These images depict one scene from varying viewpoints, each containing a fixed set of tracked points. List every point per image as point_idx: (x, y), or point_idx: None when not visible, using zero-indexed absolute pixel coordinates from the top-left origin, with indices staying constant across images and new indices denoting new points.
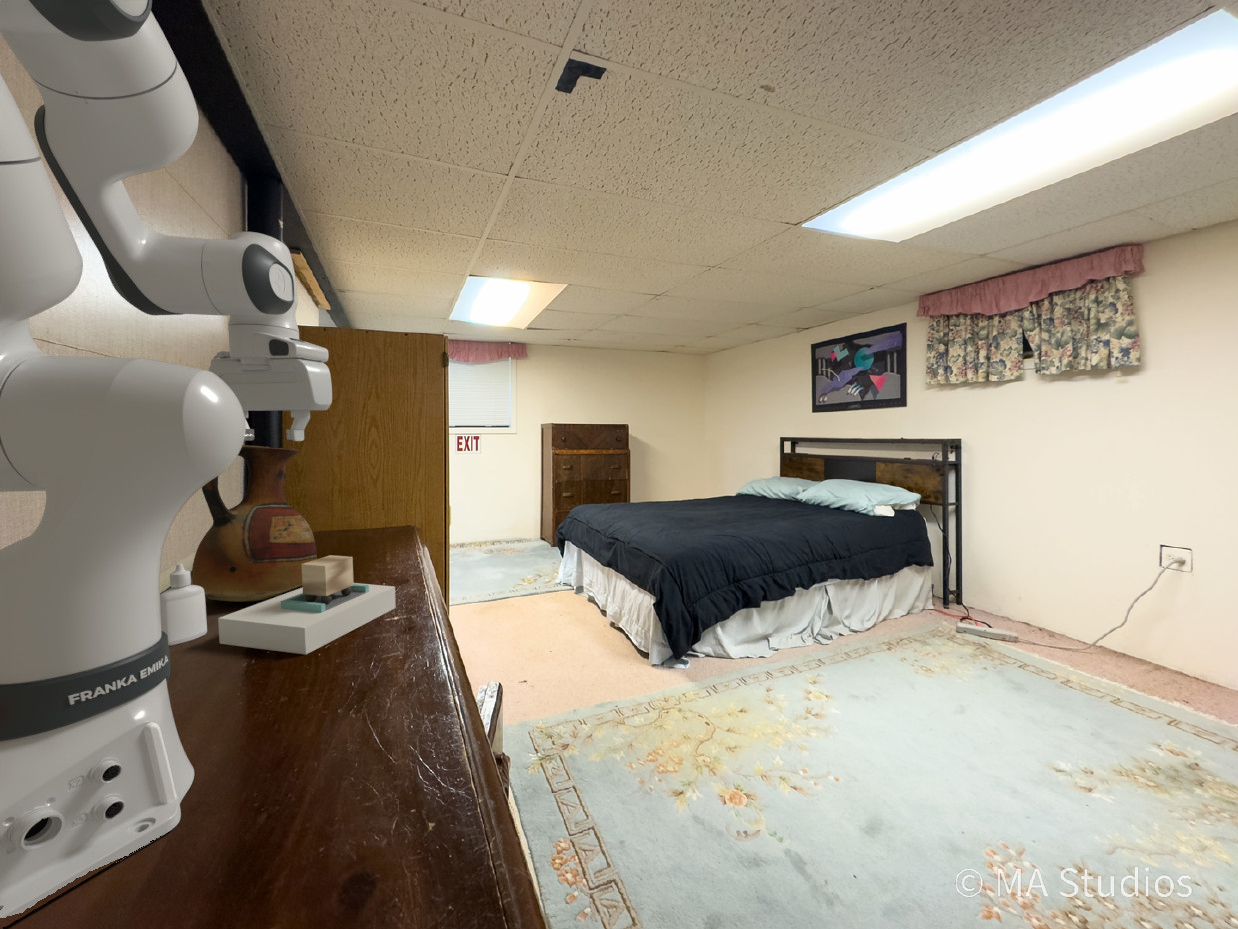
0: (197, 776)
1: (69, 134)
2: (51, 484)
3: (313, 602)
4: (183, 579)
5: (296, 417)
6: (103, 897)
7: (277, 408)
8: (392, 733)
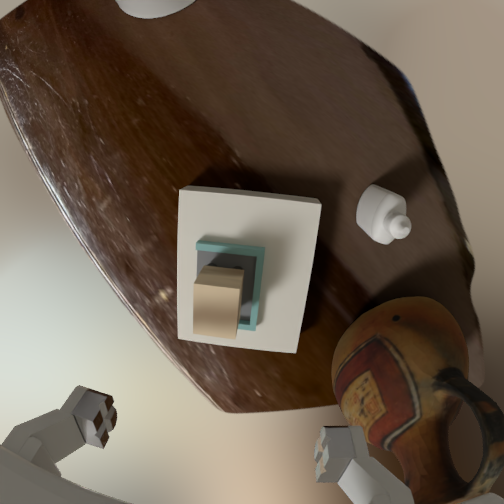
0: (126, 14)
1: None
2: None
3: (214, 251)
4: (388, 220)
5: (21, 430)
6: None
7: (62, 480)
8: (42, 92)
